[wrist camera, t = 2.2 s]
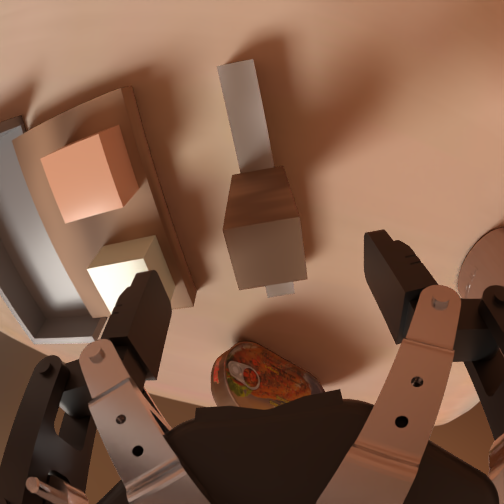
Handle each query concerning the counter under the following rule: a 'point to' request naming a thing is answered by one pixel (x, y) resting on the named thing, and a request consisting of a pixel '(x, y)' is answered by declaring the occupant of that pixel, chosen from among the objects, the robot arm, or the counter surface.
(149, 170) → the walnut board
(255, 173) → the cube on grey rod
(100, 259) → the cream block
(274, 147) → the counter surface
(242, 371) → the tin
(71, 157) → the salmon pink cube
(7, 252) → the box
